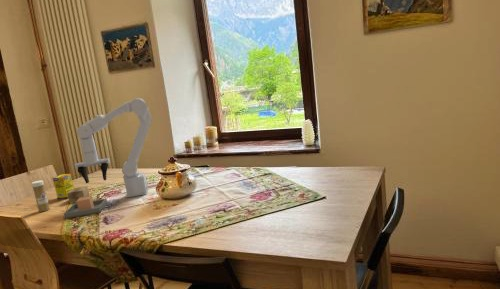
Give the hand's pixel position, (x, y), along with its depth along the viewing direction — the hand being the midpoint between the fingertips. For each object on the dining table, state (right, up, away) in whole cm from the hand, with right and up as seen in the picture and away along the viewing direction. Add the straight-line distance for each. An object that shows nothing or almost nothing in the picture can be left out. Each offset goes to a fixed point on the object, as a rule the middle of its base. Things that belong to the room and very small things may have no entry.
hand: (96, 181), depth 172 cm
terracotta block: (0, -11, -9) cm, 14 cm away
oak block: (-12, -10, +10) cm, 18 cm away
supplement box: (-21, -10, +17) cm, 29 cm away
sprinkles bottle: (-23, -13, 0) cm, 27 cm away
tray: (0, -12, -9) cm, 15 cm away
